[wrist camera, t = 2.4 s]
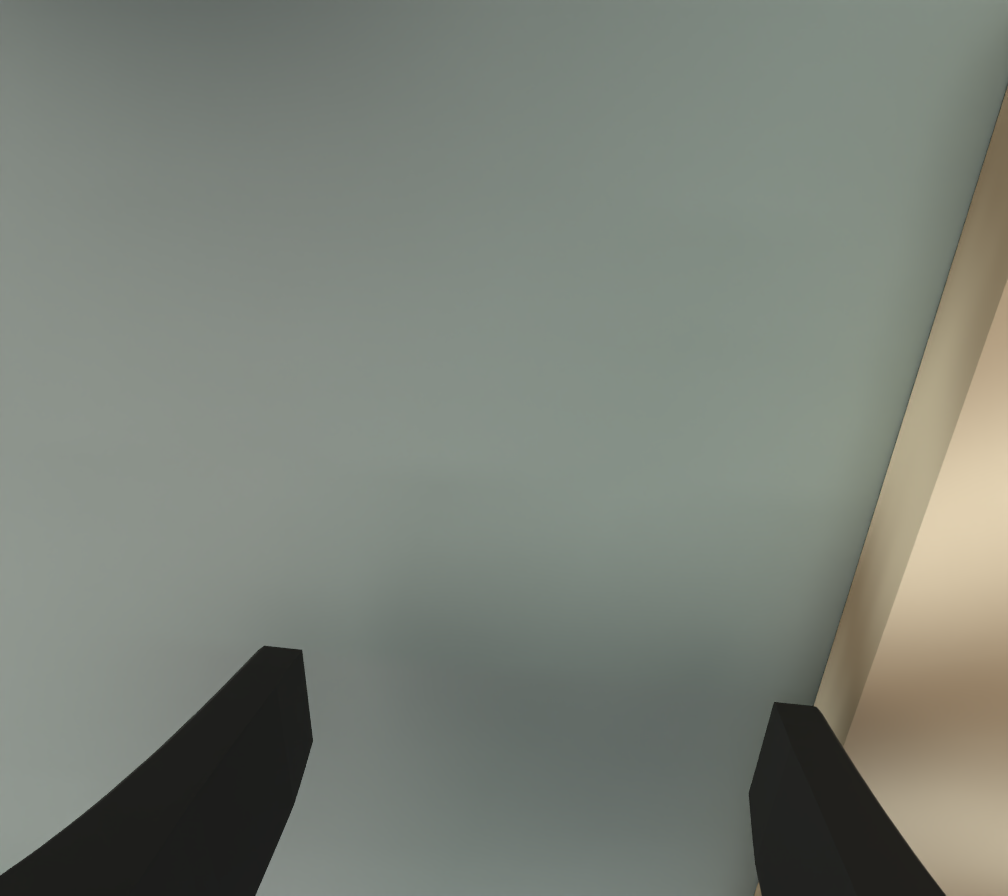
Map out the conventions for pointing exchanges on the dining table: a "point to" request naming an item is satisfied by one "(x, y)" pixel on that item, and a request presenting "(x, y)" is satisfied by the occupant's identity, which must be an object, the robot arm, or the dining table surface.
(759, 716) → the dining table surface
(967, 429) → the birch board
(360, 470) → the dining table surface
